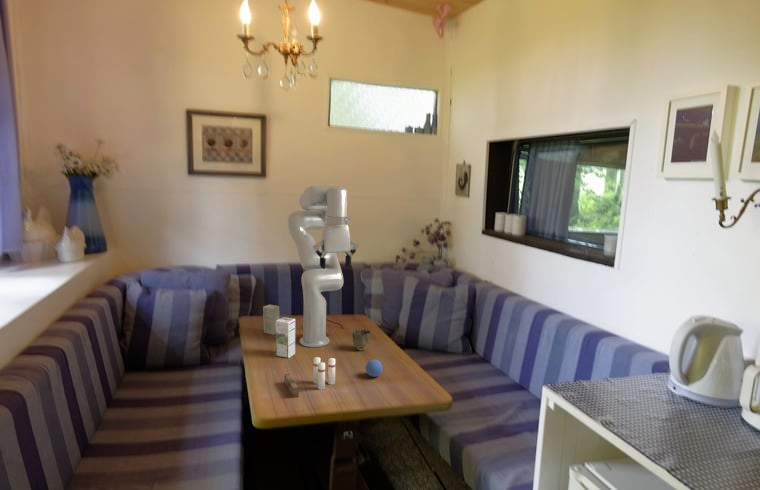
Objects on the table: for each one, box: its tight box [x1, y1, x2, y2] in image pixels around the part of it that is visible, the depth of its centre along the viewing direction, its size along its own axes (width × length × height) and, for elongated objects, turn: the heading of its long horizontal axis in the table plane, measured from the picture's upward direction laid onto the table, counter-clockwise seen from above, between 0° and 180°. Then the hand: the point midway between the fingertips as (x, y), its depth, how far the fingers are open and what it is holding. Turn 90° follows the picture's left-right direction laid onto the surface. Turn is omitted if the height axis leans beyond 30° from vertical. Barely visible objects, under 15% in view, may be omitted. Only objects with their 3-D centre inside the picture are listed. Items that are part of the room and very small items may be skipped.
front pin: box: [327, 357, 336, 385], centre depth 163 cm, size 2×2×8 cm
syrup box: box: [275, 317, 296, 359], centre depth 187 cm, size 6×6×14 cm
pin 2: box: [317, 361, 326, 390], centre depth 159 cm, size 2×2×8 cm
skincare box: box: [262, 304, 281, 335], centre depth 213 cm, size 6×4×12 cm
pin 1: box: [312, 356, 321, 385], centre depth 163 cm, size 2×2×8 cm
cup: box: [351, 328, 371, 352], centre depth 196 cm, size 8×7×8 cm
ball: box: [365, 359, 383, 378], centre depth 170 cm, size 6×6×6 cm
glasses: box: [326, 318, 346, 337], centre depth 221 cm, size 13×13×5 cm
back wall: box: [284, 373, 300, 398], centre depth 158 cm, size 12×2×3 cm, turn 25°
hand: (335, 267), depth 177 cm, fingers open, 9 cm apart
